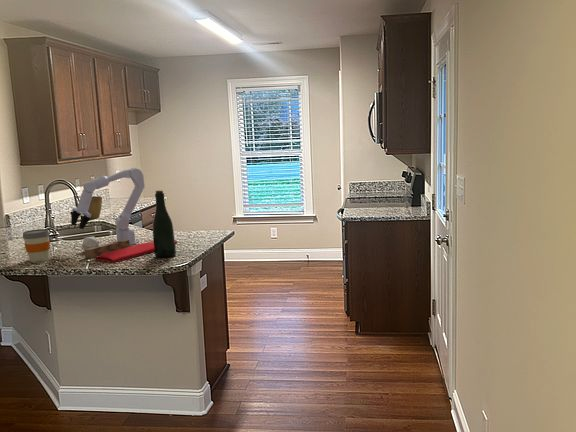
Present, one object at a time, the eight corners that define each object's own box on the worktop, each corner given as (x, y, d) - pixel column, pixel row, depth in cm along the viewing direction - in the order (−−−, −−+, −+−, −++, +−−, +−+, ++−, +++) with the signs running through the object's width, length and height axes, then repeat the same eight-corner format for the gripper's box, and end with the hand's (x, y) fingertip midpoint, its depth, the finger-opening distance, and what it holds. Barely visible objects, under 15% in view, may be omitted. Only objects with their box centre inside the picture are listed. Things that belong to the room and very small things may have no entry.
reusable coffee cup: (22, 260, 289) (18, 232, 286) (46, 255, 297) (43, 228, 295) (31, 263, 280) (27, 234, 277) (56, 258, 288) (52, 230, 286)
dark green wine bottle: (180, 255, 279) (174, 189, 273) (162, 259, 271) (155, 192, 266) (168, 252, 286) (162, 188, 281) (150, 256, 279) (144, 191, 274)
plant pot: (79, 220, 420) (77, 199, 418) (92, 216, 434) (89, 196, 432) (96, 220, 416) (93, 198, 413) (108, 216, 430) (106, 196, 427)
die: (98, 250, 308) (85, 237, 306) (105, 243, 302) (92, 230, 301) (88, 258, 301) (75, 245, 300) (95, 252, 296) (82, 238, 294)
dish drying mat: (94, 260, 281) (93, 253, 280) (159, 244, 312) (159, 237, 311) (113, 264, 271) (112, 256, 270) (178, 246, 302) (177, 240, 302)
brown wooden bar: (126, 247, 306) (125, 239, 305) (130, 248, 304) (129, 239, 303) (85, 258, 285) (84, 249, 284) (88, 258, 283) (87, 250, 283)
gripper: (70, 198, 303) (63, 222, 303) (86, 204, 295) (78, 229, 295) (81, 200, 309) (74, 224, 309) (97, 207, 300) (89, 231, 300)
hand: (77, 226), depth 302 cm, fingers open, 7 cm apart
